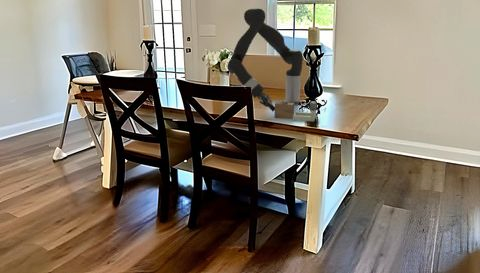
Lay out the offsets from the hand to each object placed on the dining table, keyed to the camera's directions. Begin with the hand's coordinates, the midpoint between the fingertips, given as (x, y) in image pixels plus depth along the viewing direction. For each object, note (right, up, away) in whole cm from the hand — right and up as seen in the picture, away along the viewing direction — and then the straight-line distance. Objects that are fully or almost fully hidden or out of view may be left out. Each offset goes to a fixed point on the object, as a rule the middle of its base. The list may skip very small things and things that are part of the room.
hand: (274, 110), depth 233 cm
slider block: (+5, -4, -1) cm, 7 cm away
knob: (+20, 0, -9) cm, 22 cm away
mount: (+16, -5, -4) cm, 17 cm away
